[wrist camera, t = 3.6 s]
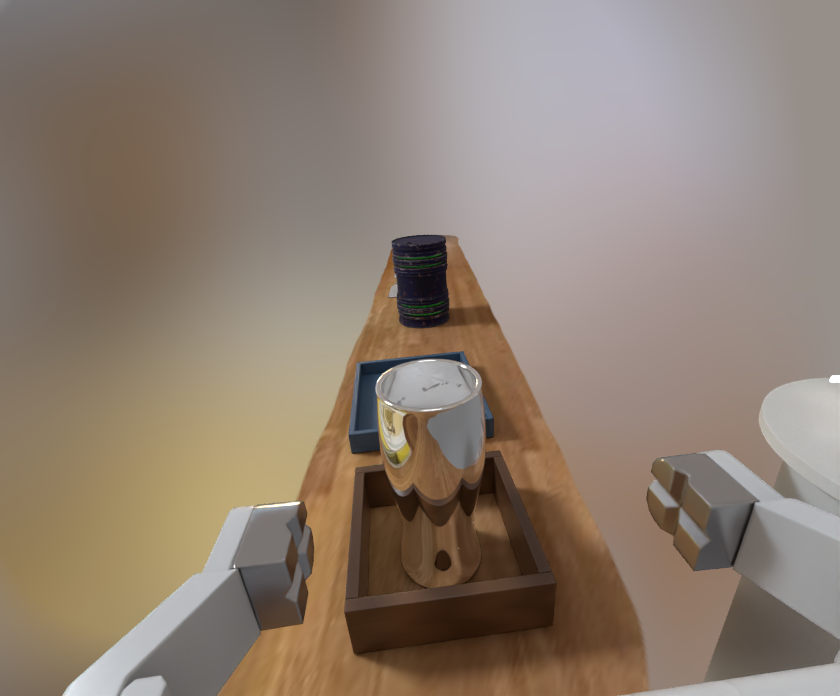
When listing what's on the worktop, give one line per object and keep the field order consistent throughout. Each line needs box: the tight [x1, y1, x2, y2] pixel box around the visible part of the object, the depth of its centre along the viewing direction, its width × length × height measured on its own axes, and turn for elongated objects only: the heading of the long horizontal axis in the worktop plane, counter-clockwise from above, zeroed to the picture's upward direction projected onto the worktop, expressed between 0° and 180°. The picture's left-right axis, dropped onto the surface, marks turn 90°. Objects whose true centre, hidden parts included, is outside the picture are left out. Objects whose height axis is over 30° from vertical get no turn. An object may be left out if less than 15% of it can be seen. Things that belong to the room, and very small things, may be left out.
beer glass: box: [375, 359, 486, 588], centre depth 28 cm, size 7×7×15 cm
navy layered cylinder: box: [392, 235, 449, 328], centre depth 76 cm, size 10×10×15 cm
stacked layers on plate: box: [389, 274, 398, 297], centre depth 97 cm, size 10×9×6 cm
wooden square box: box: [344, 450, 556, 654], centre depth 31 cm, size 13×13×4 cm
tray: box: [349, 351, 494, 453], centre depth 51 cm, size 15×17×2 cm
